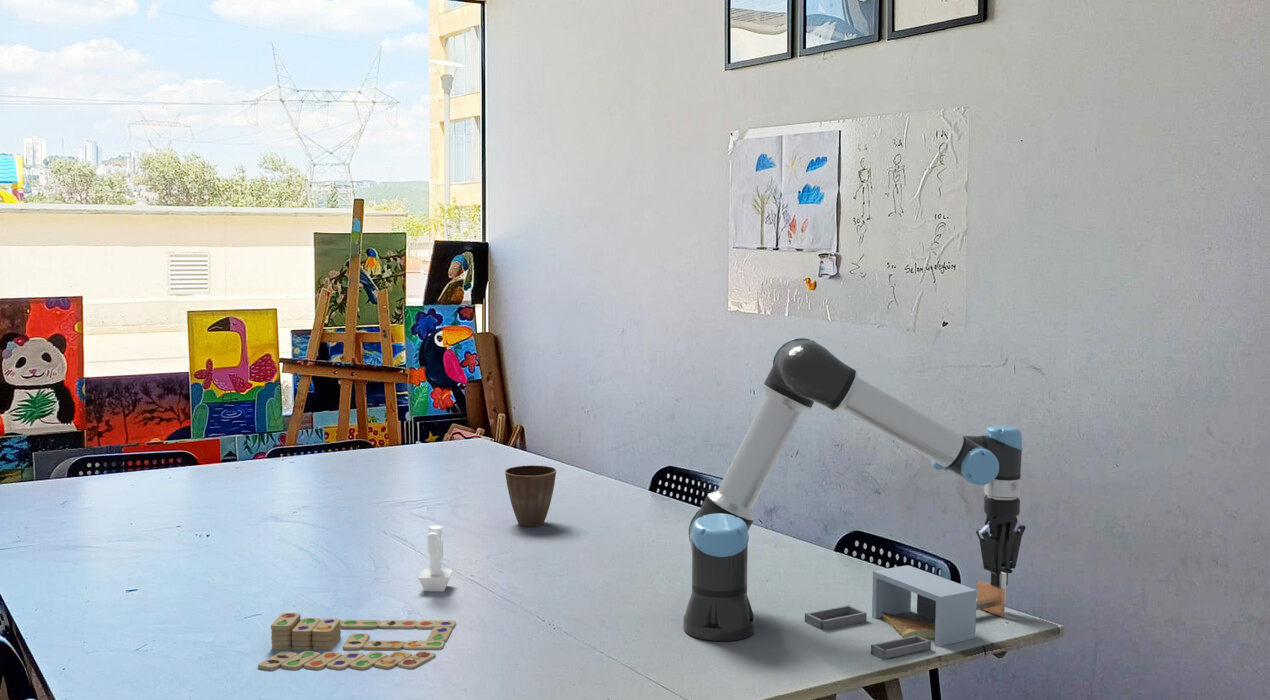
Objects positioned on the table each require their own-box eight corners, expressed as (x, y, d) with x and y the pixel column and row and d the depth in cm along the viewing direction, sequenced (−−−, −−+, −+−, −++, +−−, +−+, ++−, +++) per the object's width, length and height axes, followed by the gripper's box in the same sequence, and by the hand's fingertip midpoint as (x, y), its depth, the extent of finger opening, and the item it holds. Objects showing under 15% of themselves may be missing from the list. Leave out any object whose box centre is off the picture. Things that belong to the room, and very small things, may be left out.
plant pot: (554, 530, 311) (553, 475, 310) (502, 530, 312) (501, 475, 310) (558, 518, 326) (558, 465, 325) (508, 517, 326) (508, 465, 325)
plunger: (963, 632, 227) (964, 604, 227) (916, 613, 240) (917, 586, 239) (1016, 621, 235) (1017, 593, 234) (968, 602, 247) (969, 576, 246)
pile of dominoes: (251, 673, 206) (250, 645, 206) (294, 625, 233) (293, 600, 233) (435, 673, 206) (435, 644, 206) (456, 625, 233) (456, 599, 233)
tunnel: (939, 646, 220) (940, 597, 219) (872, 616, 238) (873, 571, 237) (975, 638, 225) (976, 589, 224) (906, 609, 242) (907, 565, 242)
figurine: (454, 582, 262) (453, 521, 260) (448, 594, 252) (447, 531, 251) (424, 582, 262) (423, 521, 260) (417, 594, 252) (416, 531, 251)
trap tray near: (884, 660, 212) (884, 651, 212) (870, 653, 216) (871, 644, 215) (930, 650, 218) (930, 641, 218) (916, 643, 221) (916, 635, 221)
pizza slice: (881, 620, 237) (881, 610, 237) (922, 618, 238) (922, 609, 238) (902, 641, 224) (902, 630, 224) (945, 639, 225) (945, 629, 225)
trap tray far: (822, 630, 229) (822, 621, 229) (804, 621, 234) (804, 613, 234) (866, 621, 235) (866, 613, 235) (848, 613, 240) (848, 605, 240)
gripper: (993, 502, 233) (990, 610, 235) (1036, 496, 239) (1032, 601, 241) (967, 496, 240) (964, 600, 242) (1010, 490, 246) (1006, 592, 248)
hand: (998, 600), depth 242 cm, fingers closed
